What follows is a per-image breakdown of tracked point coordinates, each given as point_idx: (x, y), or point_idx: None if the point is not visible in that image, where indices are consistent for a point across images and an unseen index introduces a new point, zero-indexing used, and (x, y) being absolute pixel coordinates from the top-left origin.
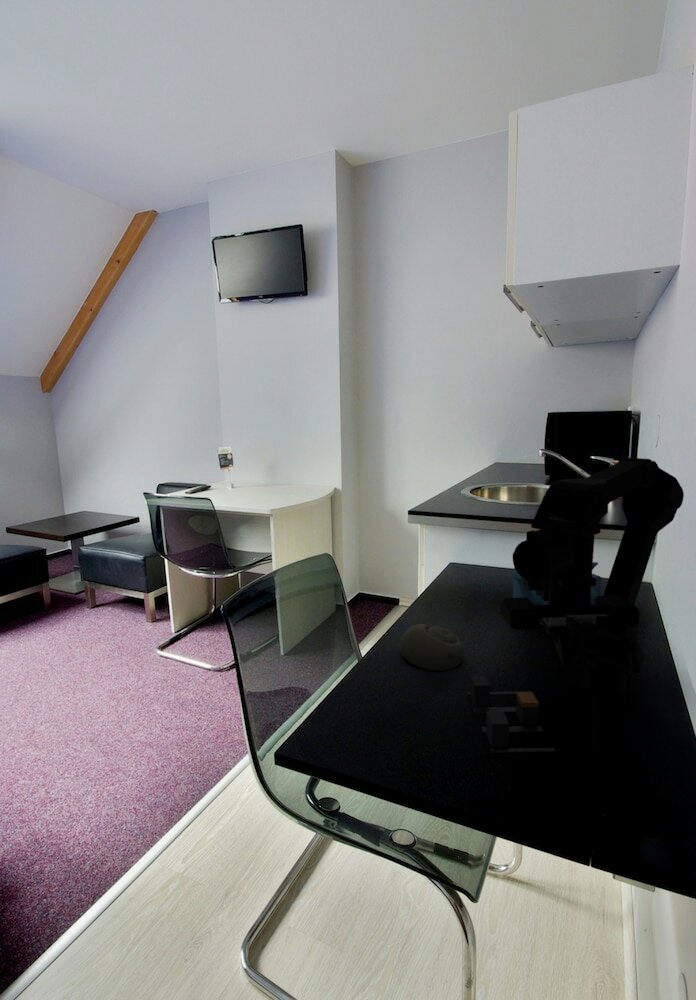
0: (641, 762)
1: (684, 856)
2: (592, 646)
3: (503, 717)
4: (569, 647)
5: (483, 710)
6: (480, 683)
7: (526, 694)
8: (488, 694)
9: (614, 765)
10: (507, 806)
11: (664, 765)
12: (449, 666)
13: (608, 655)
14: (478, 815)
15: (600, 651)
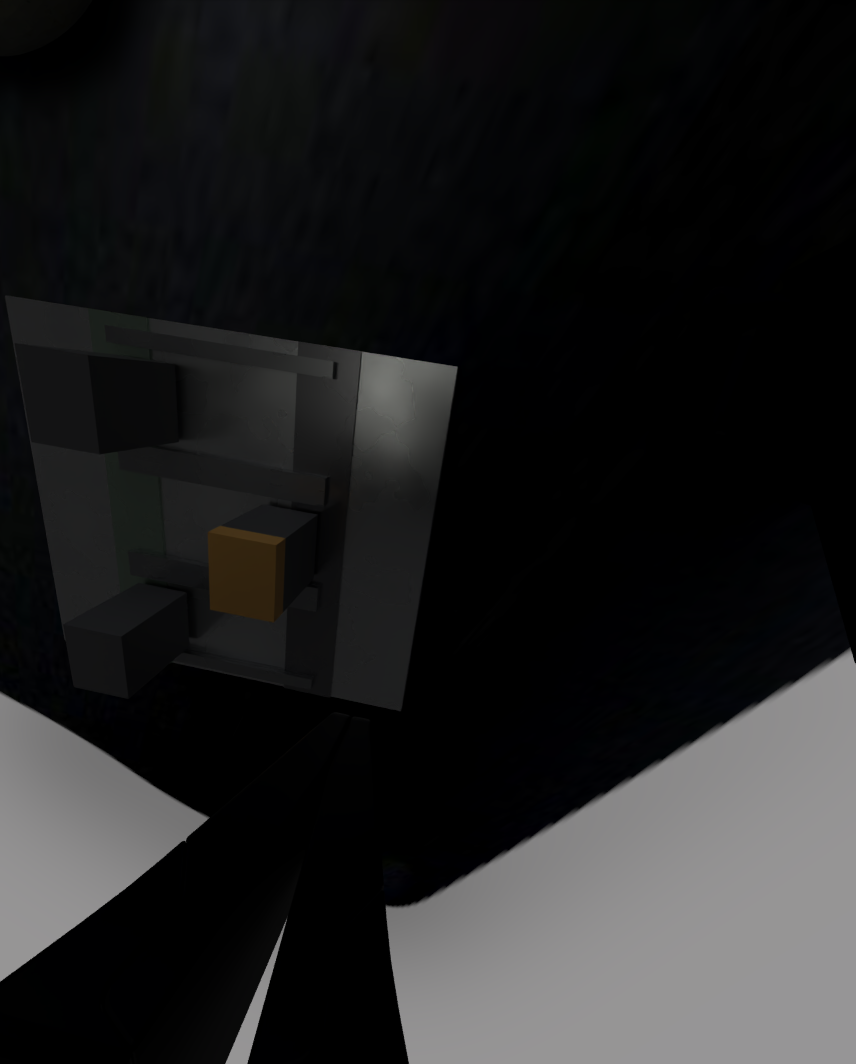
0: (542, 730)
1: (426, 896)
2: (827, 516)
3: (115, 667)
4: (237, 1031)
5: (150, 467)
6: (57, 428)
7: (245, 557)
8: (134, 446)
9: (463, 721)
10: (165, 751)
11: (593, 751)
12: (13, 38)
13: (845, 621)
14: (106, 753)
15: (836, 566)
